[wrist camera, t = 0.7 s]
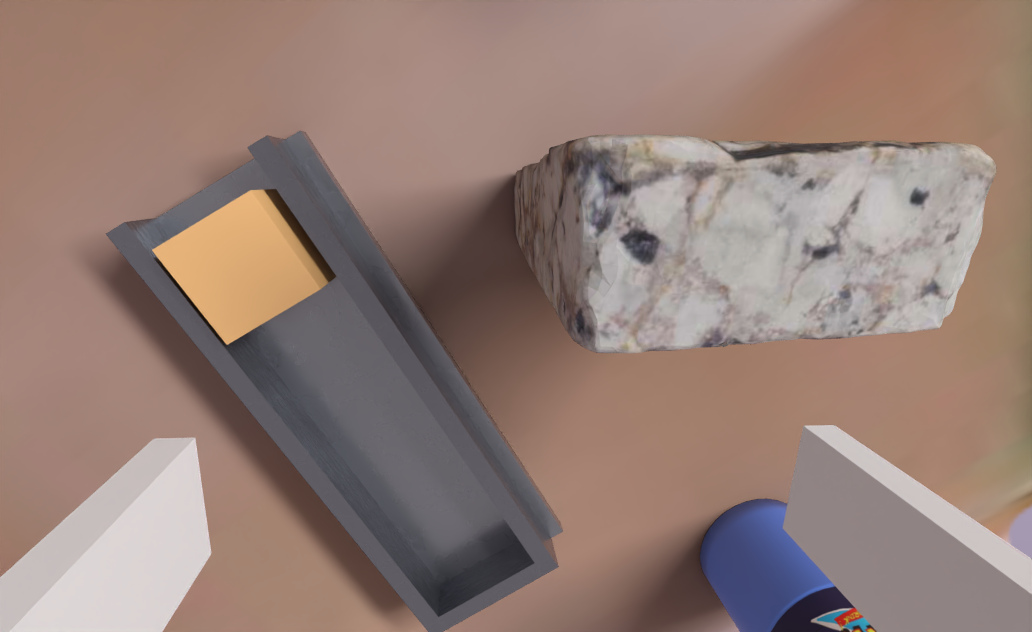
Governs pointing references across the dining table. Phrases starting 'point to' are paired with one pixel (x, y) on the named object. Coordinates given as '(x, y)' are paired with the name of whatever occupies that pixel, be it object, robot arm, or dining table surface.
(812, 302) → the stone block
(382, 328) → the chute
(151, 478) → the robot arm
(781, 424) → the dining table surface
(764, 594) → the water bottle
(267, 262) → the block
